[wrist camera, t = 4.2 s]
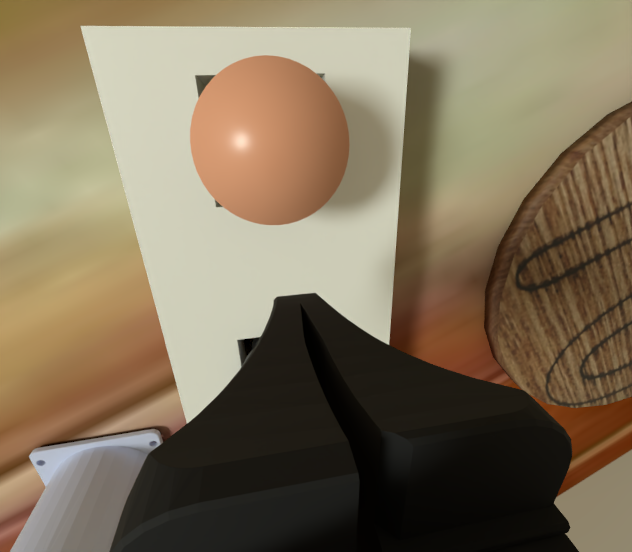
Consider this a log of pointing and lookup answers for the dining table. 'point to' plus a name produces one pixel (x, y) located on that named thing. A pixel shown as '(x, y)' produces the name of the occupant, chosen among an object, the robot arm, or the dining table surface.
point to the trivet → (570, 275)
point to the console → (230, 230)
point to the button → (269, 140)
